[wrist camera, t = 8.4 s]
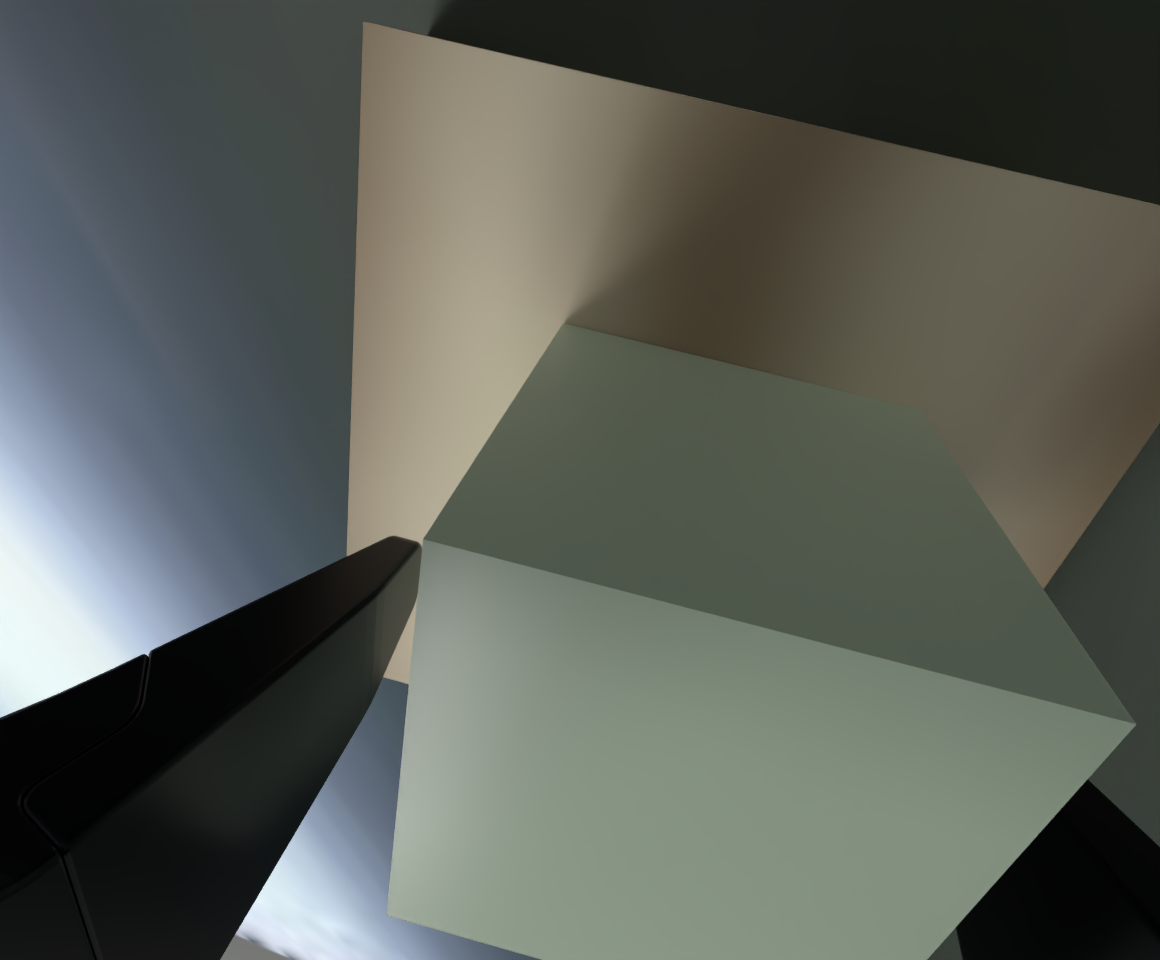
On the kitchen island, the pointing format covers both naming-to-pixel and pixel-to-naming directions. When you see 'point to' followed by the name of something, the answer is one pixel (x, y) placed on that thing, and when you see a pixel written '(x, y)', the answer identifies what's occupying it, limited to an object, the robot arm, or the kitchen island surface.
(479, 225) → the birch base brick
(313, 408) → the kitchen island surface
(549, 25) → the kitchen island surface
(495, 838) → the sage brick
